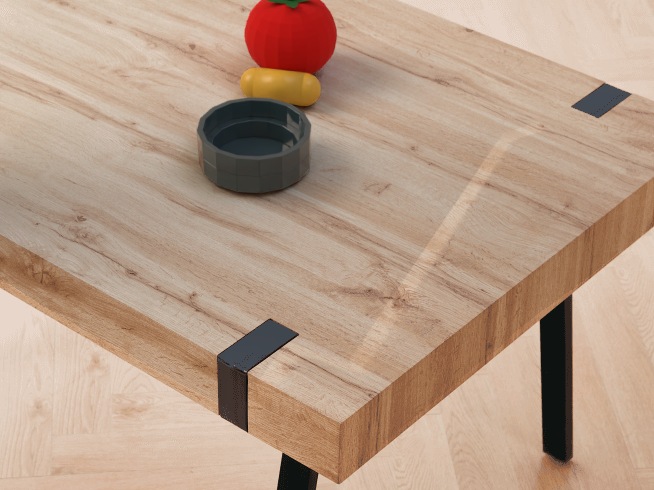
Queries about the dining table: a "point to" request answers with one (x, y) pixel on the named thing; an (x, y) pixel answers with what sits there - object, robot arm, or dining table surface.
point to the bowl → (254, 144)
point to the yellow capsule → (281, 85)
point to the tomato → (291, 35)
